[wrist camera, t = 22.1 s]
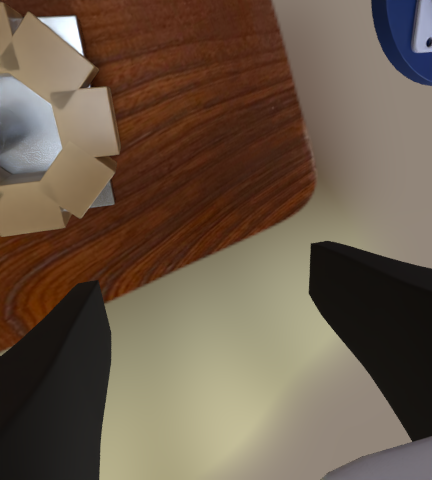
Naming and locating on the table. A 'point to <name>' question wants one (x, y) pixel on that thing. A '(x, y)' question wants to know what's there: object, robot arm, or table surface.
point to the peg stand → (37, 118)
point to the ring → (68, 124)
